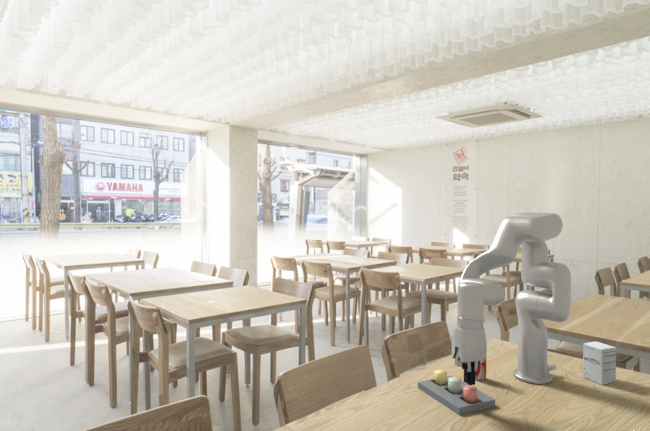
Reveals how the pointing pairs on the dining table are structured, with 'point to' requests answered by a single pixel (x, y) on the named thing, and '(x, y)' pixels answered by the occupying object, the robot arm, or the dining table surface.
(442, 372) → the button ochre
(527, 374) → the robot arm
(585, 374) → the supplement box
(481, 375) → the soda can
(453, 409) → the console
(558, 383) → the dining table surface
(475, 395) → the button brick
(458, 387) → the button sage
